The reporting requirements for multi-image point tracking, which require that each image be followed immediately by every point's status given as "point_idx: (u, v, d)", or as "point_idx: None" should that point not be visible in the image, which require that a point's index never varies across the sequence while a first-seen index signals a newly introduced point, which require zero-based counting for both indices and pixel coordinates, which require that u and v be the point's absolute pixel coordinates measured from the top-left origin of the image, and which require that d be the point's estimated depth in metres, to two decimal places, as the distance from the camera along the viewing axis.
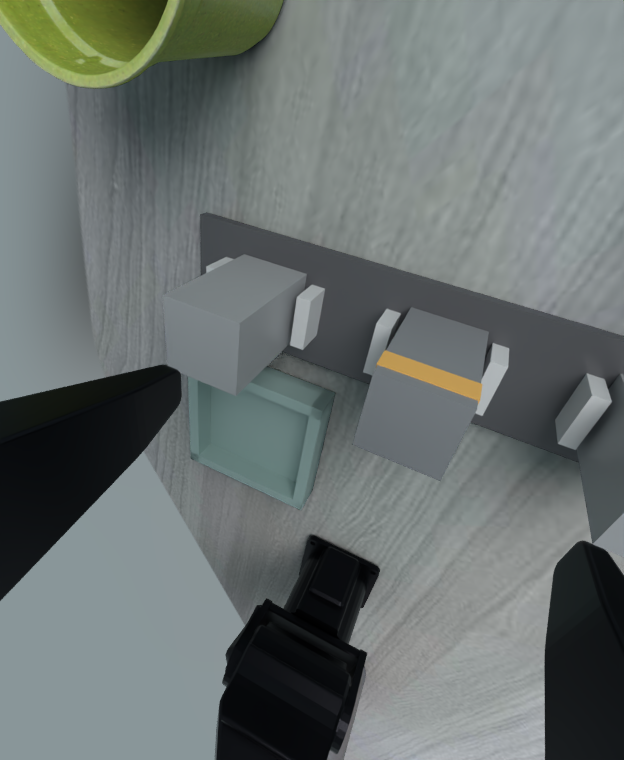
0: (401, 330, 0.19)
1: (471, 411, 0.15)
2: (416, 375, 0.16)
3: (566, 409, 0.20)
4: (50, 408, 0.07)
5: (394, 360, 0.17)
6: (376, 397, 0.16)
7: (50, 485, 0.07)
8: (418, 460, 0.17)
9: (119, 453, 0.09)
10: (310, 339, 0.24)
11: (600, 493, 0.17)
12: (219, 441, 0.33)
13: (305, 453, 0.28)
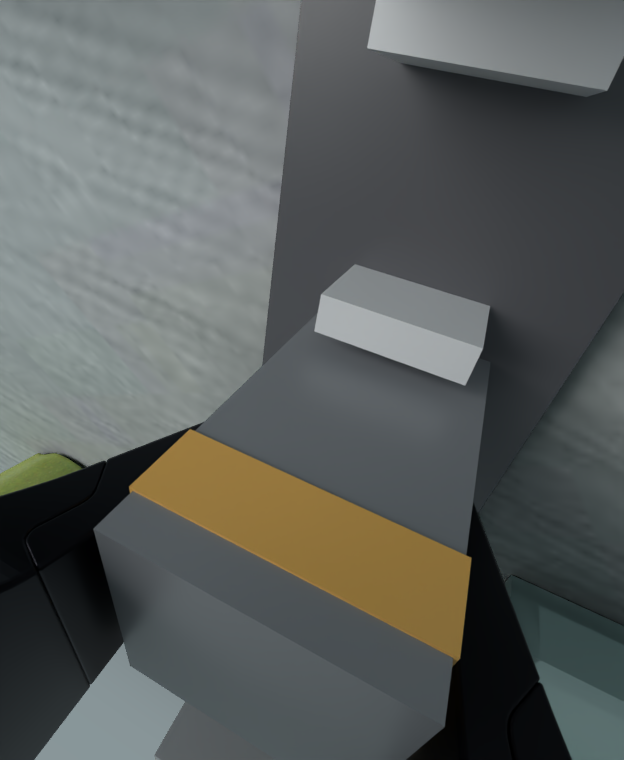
0: None
1: (107, 541, 0.05)
2: None
3: (515, 82, 0.06)
4: None
5: None
6: (183, 692, 0.06)
7: None
8: (351, 727, 0.04)
9: None
10: None
11: None
12: None
13: None
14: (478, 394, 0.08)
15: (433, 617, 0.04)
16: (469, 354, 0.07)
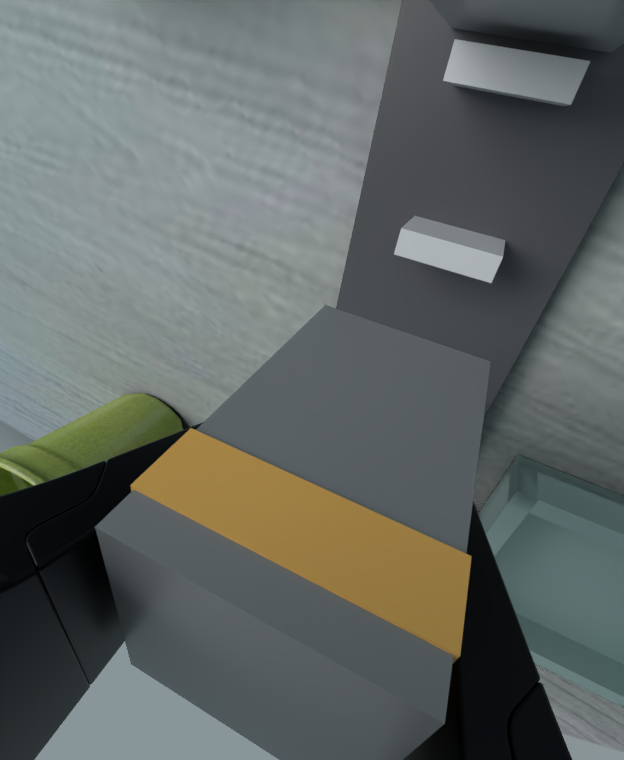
0: None
1: (108, 540, 0.05)
2: None
3: (522, 98, 0.11)
4: None
5: None
6: (184, 690, 0.06)
7: None
8: (352, 724, 0.04)
9: None
10: None
11: (594, 2, 0.06)
12: (619, 650, 0.20)
13: (622, 546, 0.15)
14: (478, 393, 0.08)
15: (433, 615, 0.04)
16: (494, 261, 0.12)
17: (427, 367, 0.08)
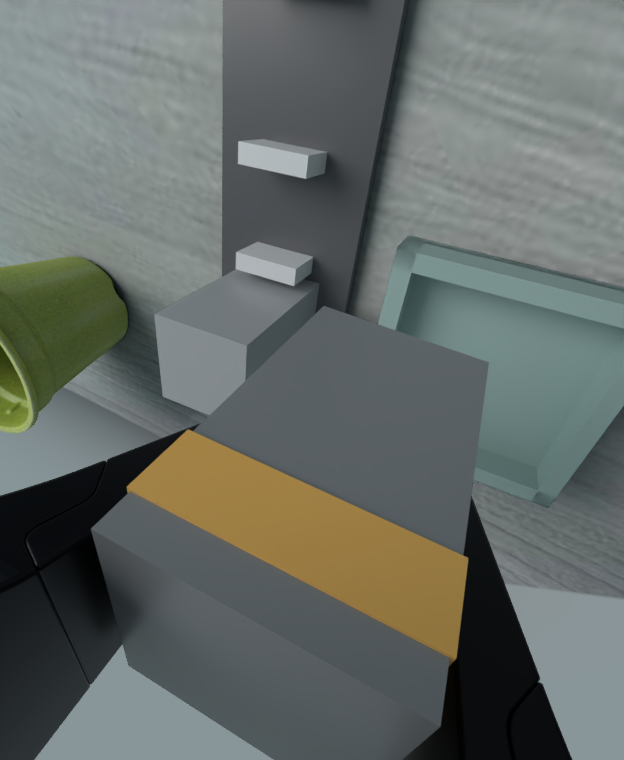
0: None
1: (104, 541, 0.05)
2: None
3: None
4: None
5: None
6: (181, 691, 0.06)
7: None
8: (348, 726, 0.04)
9: None
10: (301, 261, 0.19)
11: None
12: (530, 450, 0.20)
13: (497, 288, 0.15)
14: (476, 394, 0.08)
15: (429, 617, 0.04)
16: None
17: (425, 369, 0.08)
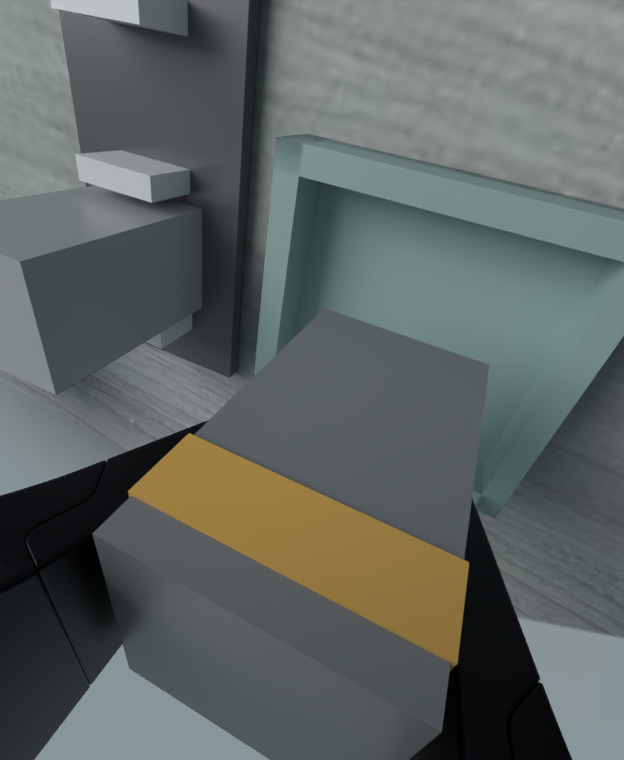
0: None
1: (106, 546, 0.05)
2: None
3: None
4: None
5: None
6: (182, 695, 0.06)
7: None
8: (349, 731, 0.04)
9: None
10: (166, 171, 0.14)
11: None
12: None
13: (415, 195, 0.10)
14: (477, 397, 0.08)
15: (430, 622, 0.04)
16: None
17: (426, 371, 0.08)
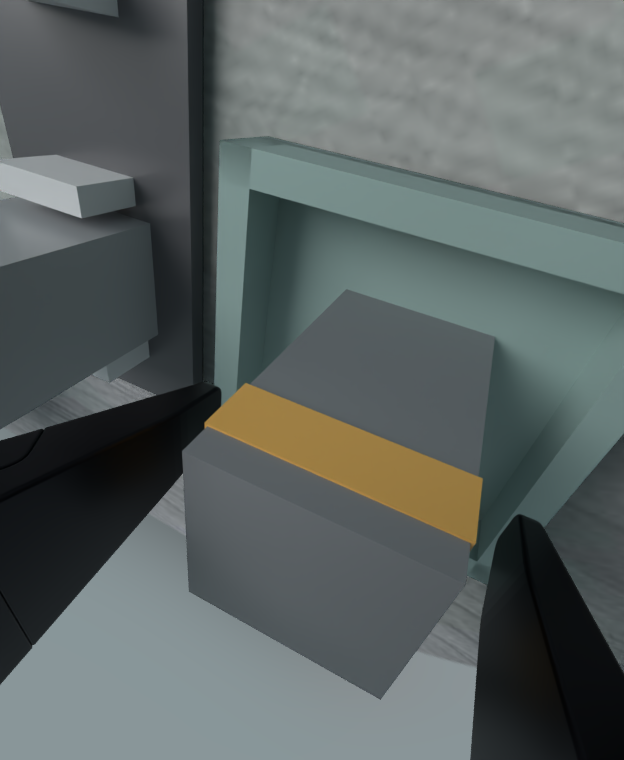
0: None
1: (192, 462, 0.06)
2: None
3: None
4: (101, 433, 0.07)
5: None
6: (237, 608, 0.08)
7: (99, 512, 0.07)
8: (389, 605, 0.06)
9: (163, 475, 0.08)
10: (101, 180, 0.11)
11: None
12: None
13: (391, 215, 0.08)
14: (484, 361, 0.09)
15: (454, 516, 0.06)
16: None
17: (439, 341, 0.10)
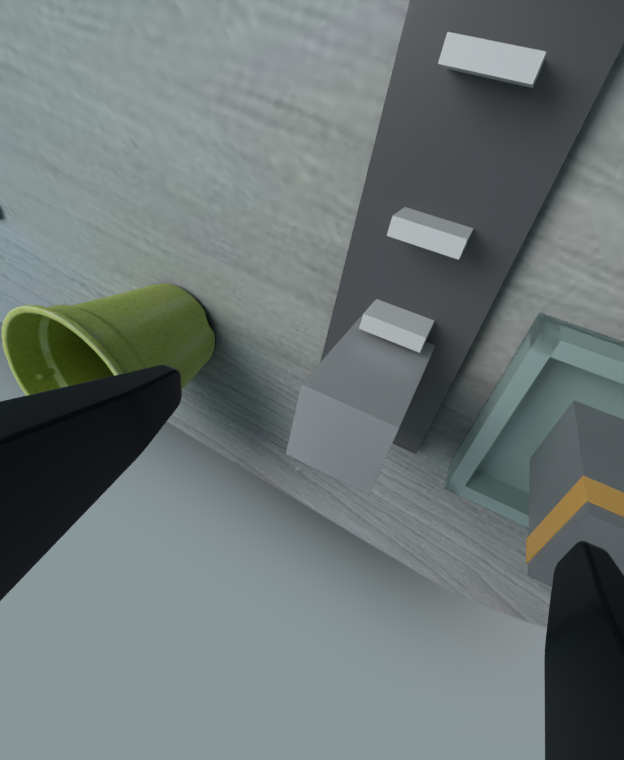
0: (530, 496, 0.19)
1: (591, 518, 0.13)
2: (547, 536, 0.15)
3: None
4: (50, 408, 0.07)
5: (533, 541, 0.16)
6: None
7: (50, 485, 0.07)
8: None
9: (119, 453, 0.09)
10: (426, 327, 0.19)
11: None
12: None
13: None
14: None
15: None
16: (537, 59, 0.12)
17: None
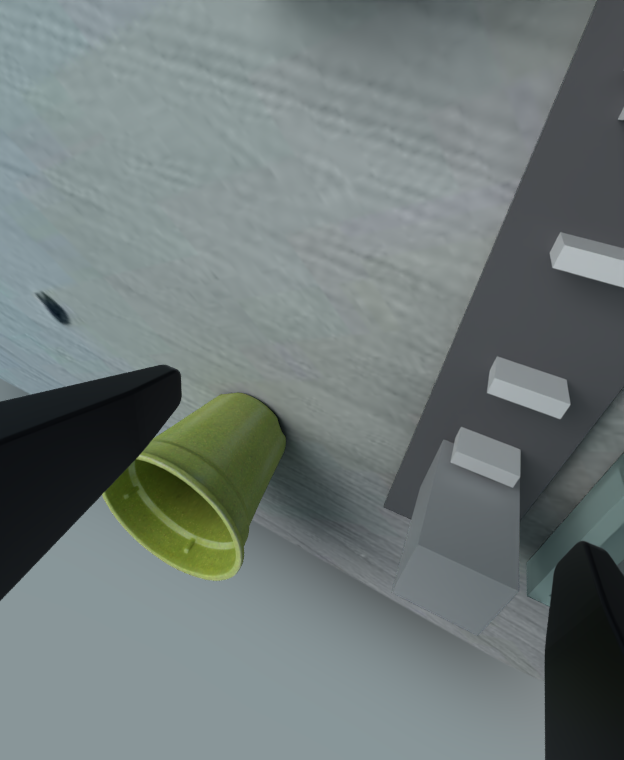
0: None
1: None
2: None
3: None
4: (50, 408, 0.07)
5: None
6: None
7: (50, 485, 0.07)
8: None
9: (119, 453, 0.09)
10: (516, 460, 0.20)
11: None
12: None
13: None
14: None
15: None
16: None
17: None
